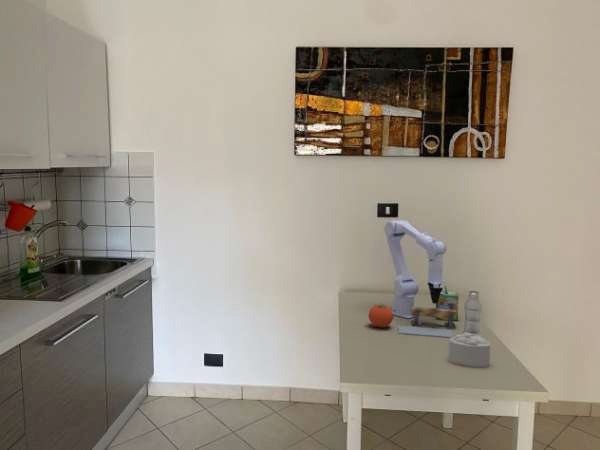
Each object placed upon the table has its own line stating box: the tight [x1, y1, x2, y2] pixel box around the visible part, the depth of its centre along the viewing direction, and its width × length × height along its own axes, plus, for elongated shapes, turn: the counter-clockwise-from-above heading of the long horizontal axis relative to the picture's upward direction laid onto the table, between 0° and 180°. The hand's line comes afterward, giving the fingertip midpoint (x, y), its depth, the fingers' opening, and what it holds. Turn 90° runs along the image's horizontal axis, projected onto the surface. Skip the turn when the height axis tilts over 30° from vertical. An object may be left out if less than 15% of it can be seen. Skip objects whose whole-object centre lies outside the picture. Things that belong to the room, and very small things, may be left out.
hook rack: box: [410, 311, 457, 330], centre depth 204 cm, size 18×6×6 cm, turn 78°
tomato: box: [368, 304, 394, 328], centre depth 201 cm, size 10×10×10 cm
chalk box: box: [435, 284, 459, 322], centre depth 216 cm, size 9×9×15 cm
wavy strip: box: [412, 306, 456, 319], centre depth 204 cm, size 18×3×3 cm, turn 78°
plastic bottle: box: [462, 290, 483, 336], centre depth 182 cm, size 6×7×20 cm
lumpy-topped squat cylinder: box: [447, 332, 491, 368], centre depth 165 cm, size 10×13×9 cm
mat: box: [397, 325, 454, 339], centre depth 195 cm, size 21×9×1 cm, turn 78°
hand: (434, 301), depth 204 cm, fingers open, 7 cm apart
